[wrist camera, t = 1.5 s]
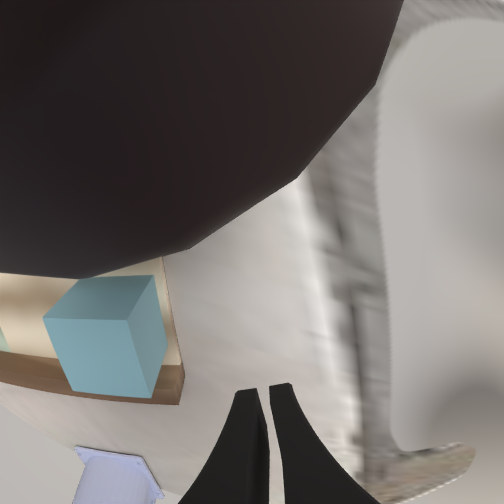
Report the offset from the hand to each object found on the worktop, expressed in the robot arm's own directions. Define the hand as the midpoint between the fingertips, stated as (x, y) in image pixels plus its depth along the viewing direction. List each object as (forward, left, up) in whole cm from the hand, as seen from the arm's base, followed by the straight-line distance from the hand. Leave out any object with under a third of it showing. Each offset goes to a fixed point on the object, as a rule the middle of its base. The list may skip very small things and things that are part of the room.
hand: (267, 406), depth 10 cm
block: (-2, +9, -9) cm, 13 cm away
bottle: (+10, +2, -10) cm, 15 cm away
